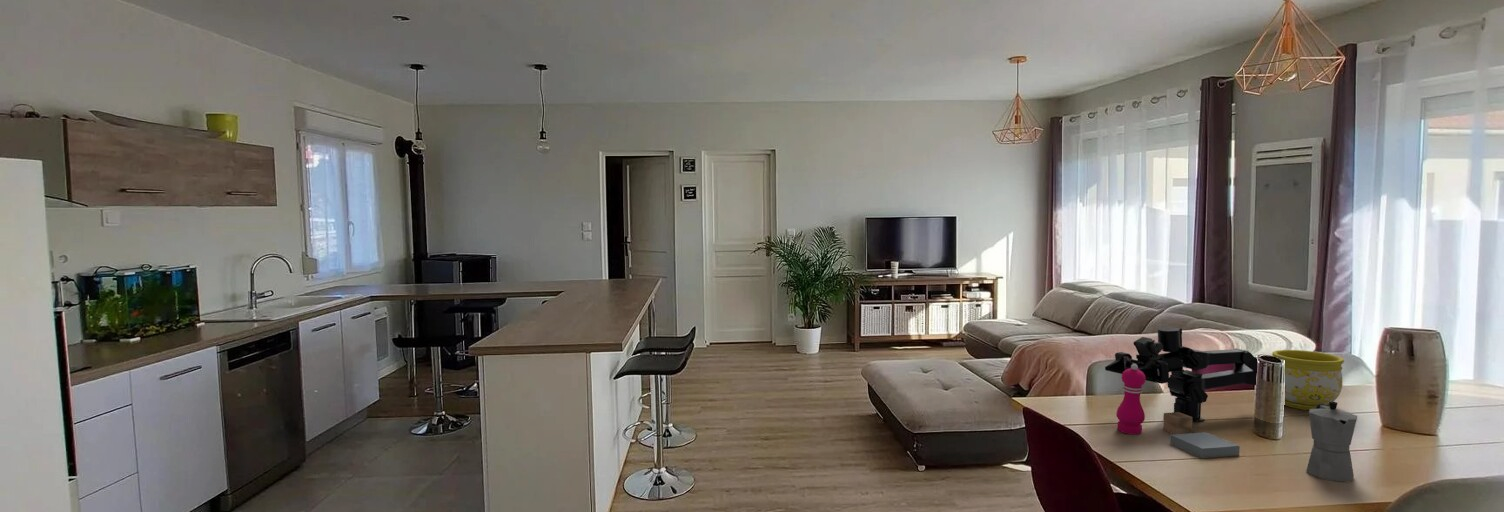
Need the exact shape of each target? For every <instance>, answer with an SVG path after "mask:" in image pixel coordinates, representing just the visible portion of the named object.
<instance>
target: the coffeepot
mask: <svg viewBox="0 0 1504 512" xmlns="http://www.w3.org/2000/svg"><path fill="white" fill-rule="evenodd" d="M1329 404H1330V409H1329V407H1328V406H1325V405H1324V404H1318V405H1317V407H1316V409H1310V410H1308V416H1309V417H1308V418H1309V422H1310V423H1309V425H1310V431H1311V439H1312V440H1313V445H1312V448H1311V450H1310V451H1311V452H1310V455H1309V459H1308V463H1307V467H1306V471H1305V472H1306V473H1308V474H1309V475H1311V476H1313V477H1315V478H1318V479H1321V480H1324V481H1325V480H1327V481H1330V482H1338V483H1339V482H1340V483H1346V482H1345V481H1350V482H1353V480H1354V477H1355V473H1354V469H1353V461H1352V458H1351V457H1352V455H1351V451H1350V446H1351V443H1352V440H1353V436H1354V432H1355V428H1356V423H1357V421H1358V420H1357V419H1358V415H1357V414H1353V413H1349V412H1346V411H1344V410H1341V409H1337V407H1338V402H1336V401H1332V402H1329Z"/></svg>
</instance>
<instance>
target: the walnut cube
mask: <svg viewBox="0 0 1504 512" xmlns="http://www.w3.org/2000/svg"><path fill="white" fill-rule="evenodd" d="M1162 420H1163V423H1162V424H1163V425H1162V426H1163V427H1162V430H1163V431H1166V432H1167V431H1168V433H1170V434H1171V435H1175V434H1189V433H1193V422H1192V417H1191V416H1188V415H1185V414H1183V413H1180V412H1174V411H1172V412H1163V419H1162Z"/></svg>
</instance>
